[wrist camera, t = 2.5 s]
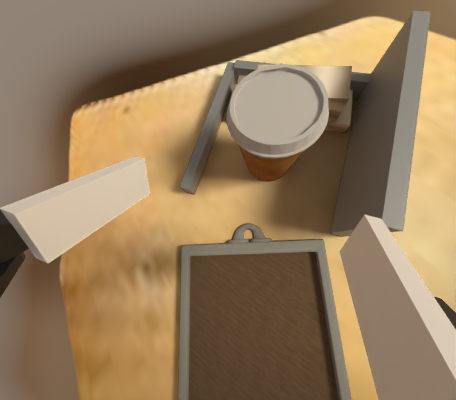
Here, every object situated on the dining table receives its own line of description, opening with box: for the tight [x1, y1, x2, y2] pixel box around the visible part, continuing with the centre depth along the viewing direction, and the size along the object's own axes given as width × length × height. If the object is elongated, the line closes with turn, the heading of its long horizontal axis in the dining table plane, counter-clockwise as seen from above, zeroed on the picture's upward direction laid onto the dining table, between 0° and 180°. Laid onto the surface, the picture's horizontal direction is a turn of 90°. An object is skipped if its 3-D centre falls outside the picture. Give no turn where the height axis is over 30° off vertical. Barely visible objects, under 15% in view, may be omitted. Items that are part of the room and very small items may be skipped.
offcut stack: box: [233, 65, 353, 132], centre depth 26 cm, size 18×6×6 cm, turn 78°
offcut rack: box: [180, 11, 430, 237], centre depth 23 cm, size 23×23×10 cm
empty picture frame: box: [178, 224, 351, 400], centre depth 22 cm, size 19×2×30 cm
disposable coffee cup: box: [227, 64, 329, 181], centre depth 22 cm, size 10×10×12 cm
